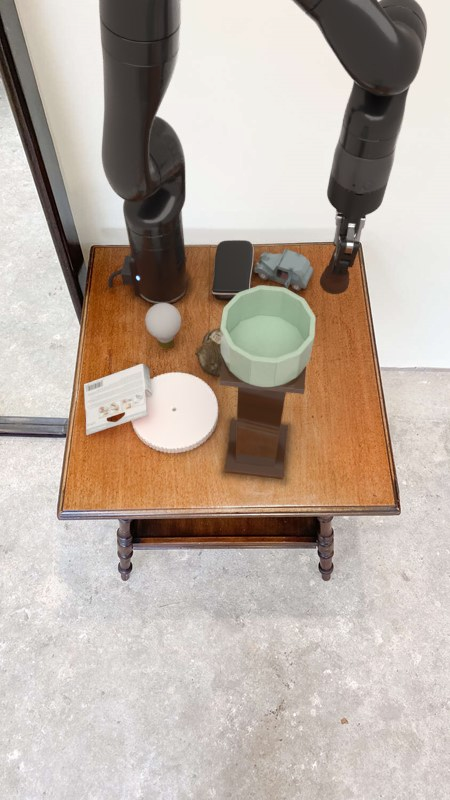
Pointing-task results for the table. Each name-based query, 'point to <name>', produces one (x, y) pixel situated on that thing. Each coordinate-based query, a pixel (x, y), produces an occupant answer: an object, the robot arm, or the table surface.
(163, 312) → the light bulb
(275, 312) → the green pedestal cup
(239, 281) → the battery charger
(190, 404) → the plastic lid
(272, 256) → the toy car
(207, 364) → the fossilized seashell
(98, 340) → the table surface
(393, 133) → the robot arm
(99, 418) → the ink box
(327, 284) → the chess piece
